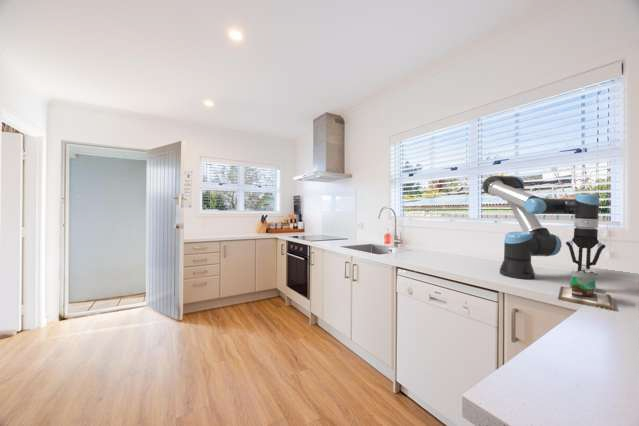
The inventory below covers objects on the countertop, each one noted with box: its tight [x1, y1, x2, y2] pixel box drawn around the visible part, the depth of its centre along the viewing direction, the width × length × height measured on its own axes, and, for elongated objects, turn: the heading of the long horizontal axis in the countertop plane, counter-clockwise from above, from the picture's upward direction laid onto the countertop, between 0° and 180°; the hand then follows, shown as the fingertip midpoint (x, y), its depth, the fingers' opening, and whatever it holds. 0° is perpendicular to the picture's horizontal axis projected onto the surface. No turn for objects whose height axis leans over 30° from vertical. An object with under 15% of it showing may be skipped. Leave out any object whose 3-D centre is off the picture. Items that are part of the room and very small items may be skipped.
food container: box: [571, 268, 599, 297], centre depth 105 cm, size 12×6×10 cm, turn 120°
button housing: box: [569, 277, 597, 292], centre depth 119 cm, size 8×8×3 cm
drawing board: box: [557, 285, 615, 311], centre depth 106 cm, size 15×20×1 cm
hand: (583, 279), depth 119 cm, fingers closed
